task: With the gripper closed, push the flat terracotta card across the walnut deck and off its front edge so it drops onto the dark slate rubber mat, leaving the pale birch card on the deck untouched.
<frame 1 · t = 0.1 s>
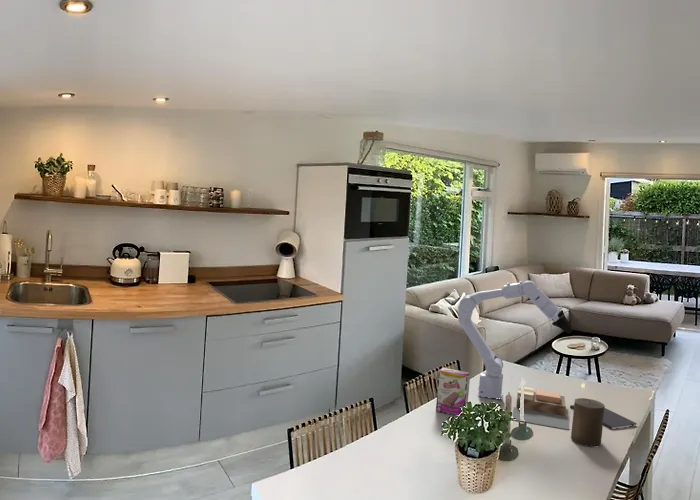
hand: (570, 330, 216), 32 cm above the table, tool tilted 50°, fingers open, 7 cm apart
pillar candle: (585, 441, 189), on the table
card terracotta: (547, 398, 217), point 4 cm above the table, touching deck
candy bar box: (451, 413, 208), on the table
card birch: (525, 395, 219), point 4 cm above the table, touching deck
mat: (540, 418, 207), on the table
deck: (540, 407, 218), on the table
notebook: (602, 418, 212), on the table
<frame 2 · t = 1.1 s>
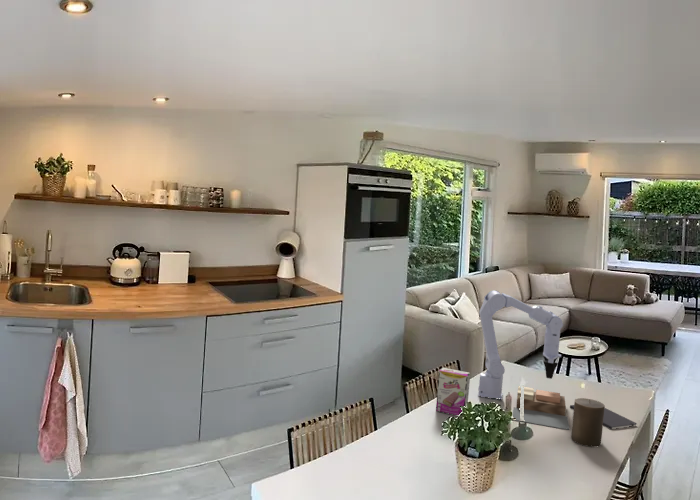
hand: (549, 375, 226), 11 cm above the table, tool pointing down, fingers open, 7 cm apart
nothing on the table moved.
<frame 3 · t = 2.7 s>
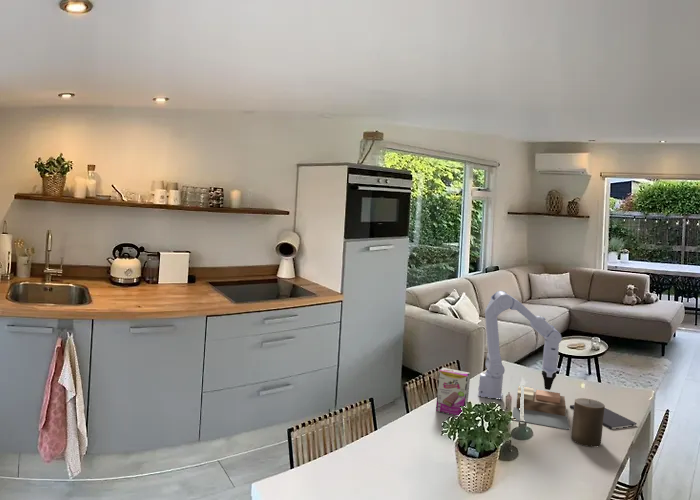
hand: (547, 389, 226), 5 cm above the table, tool pointing down, fingers closed
nothing on the table moved.
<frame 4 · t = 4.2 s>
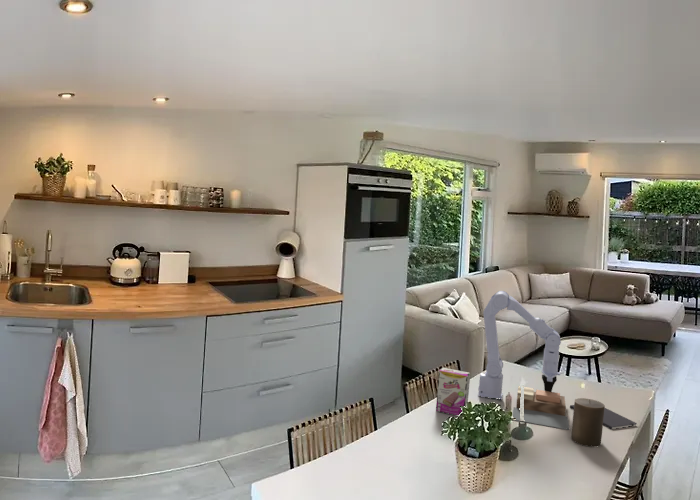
hand: (547, 393, 221), 5 cm above the table, tool pointing down, fingers closed
card terracotta: (547, 398, 217), point 4 cm above the table, touching deck, gripper
everything else where it was.
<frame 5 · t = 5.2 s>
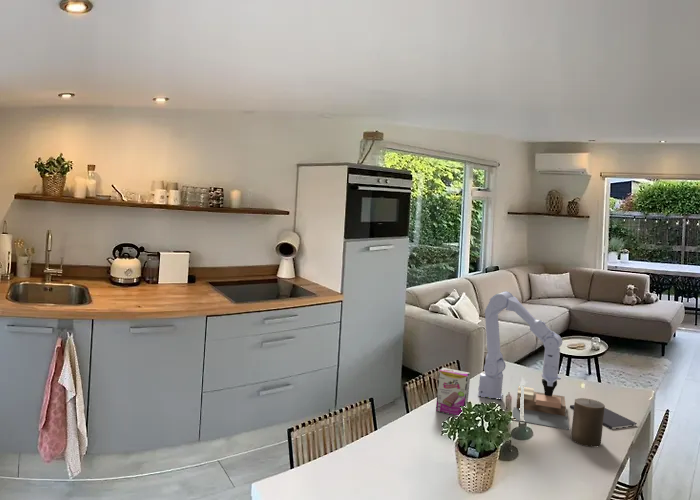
hand: (547, 398, 215), 5 cm above the table, tool pointing down, fingers closed
card terracotta: (548, 403, 212), point 4 cm above the table, touching deck, gripper
everything else where it was.
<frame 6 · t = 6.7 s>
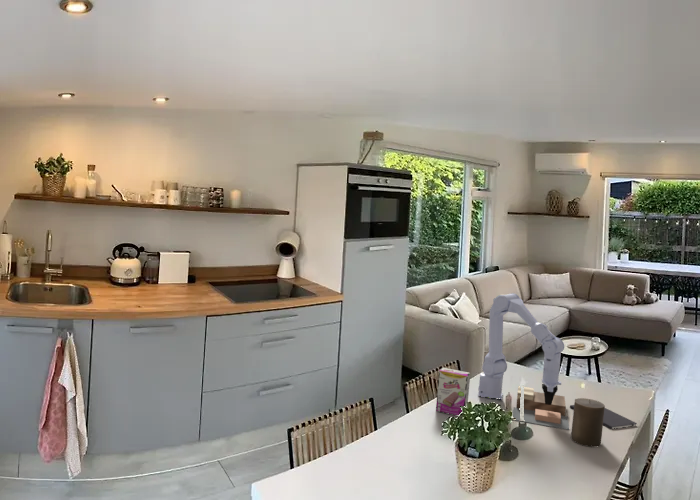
hand: (548, 404, 209), 5 cm above the table, tool pointing down, fingers closed
card terracotta: (547, 413, 206), point 2 cm above the table, tilted 180°, touching mat
everything else where it was.
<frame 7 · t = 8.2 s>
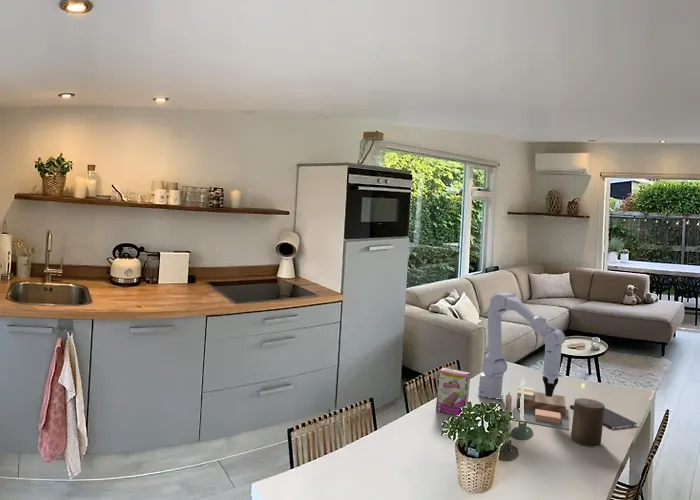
hand: (548, 396, 208), 8 cm above the table, tool pointing down, fingers closed
nothing on the table moved.
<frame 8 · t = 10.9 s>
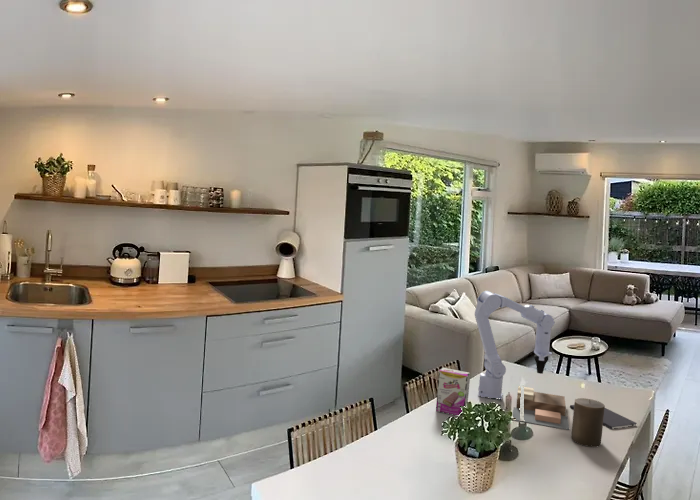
hand: (539, 373, 229), 10 cm above the table, tool pointing down, fingers closed
nothing on the table moved.
at the end: card terracotta point 2.3 cm above the table; card terracotta inside the target area on the mat (2.6 cm from its centre), point 2.3 cm above the mat's base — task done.
